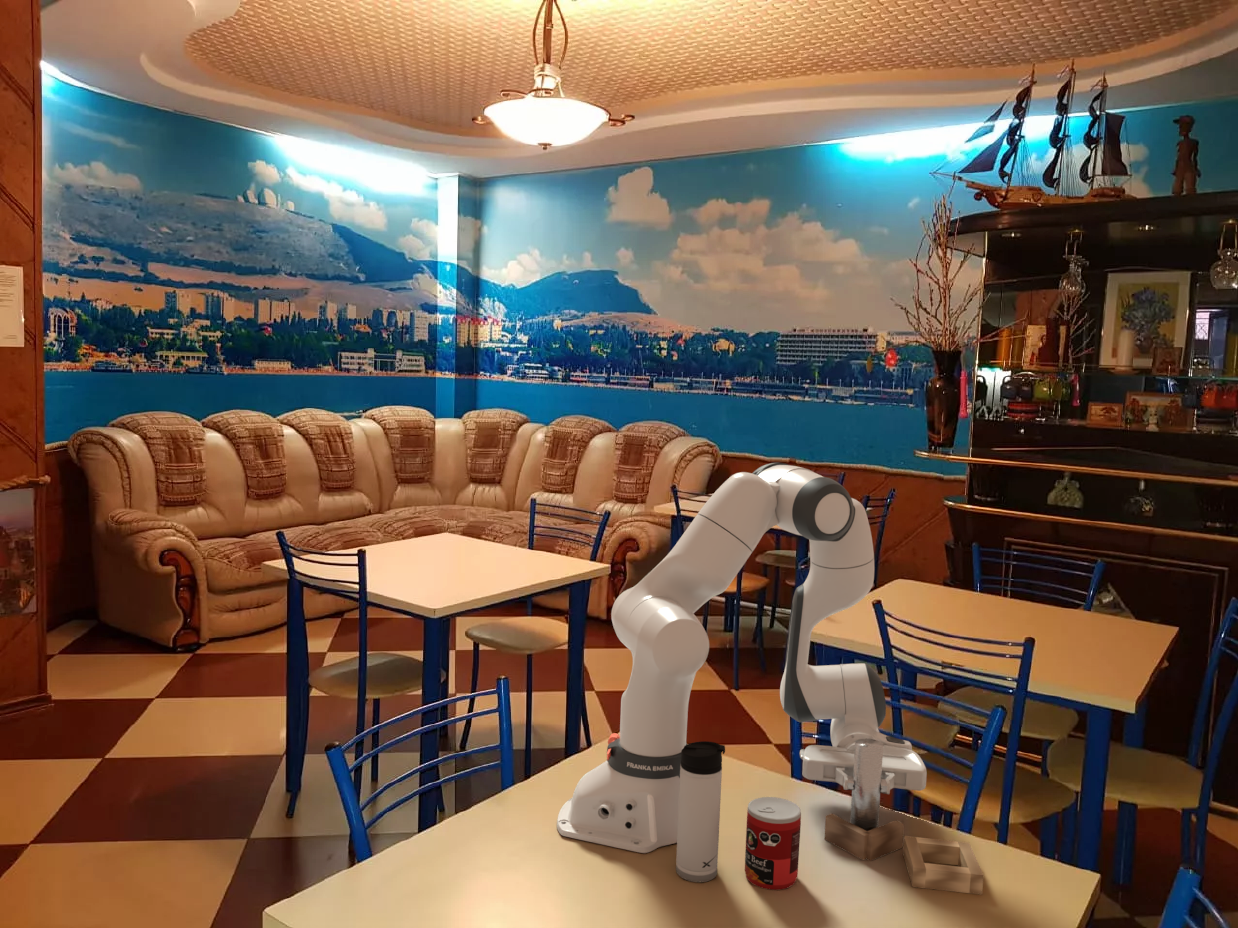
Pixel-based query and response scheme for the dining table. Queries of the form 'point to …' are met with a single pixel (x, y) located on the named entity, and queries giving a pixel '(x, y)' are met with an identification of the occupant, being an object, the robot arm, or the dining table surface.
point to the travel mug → (699, 811)
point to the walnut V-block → (864, 837)
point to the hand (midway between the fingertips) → (867, 787)
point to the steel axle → (866, 783)
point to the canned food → (772, 842)
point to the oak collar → (942, 876)
